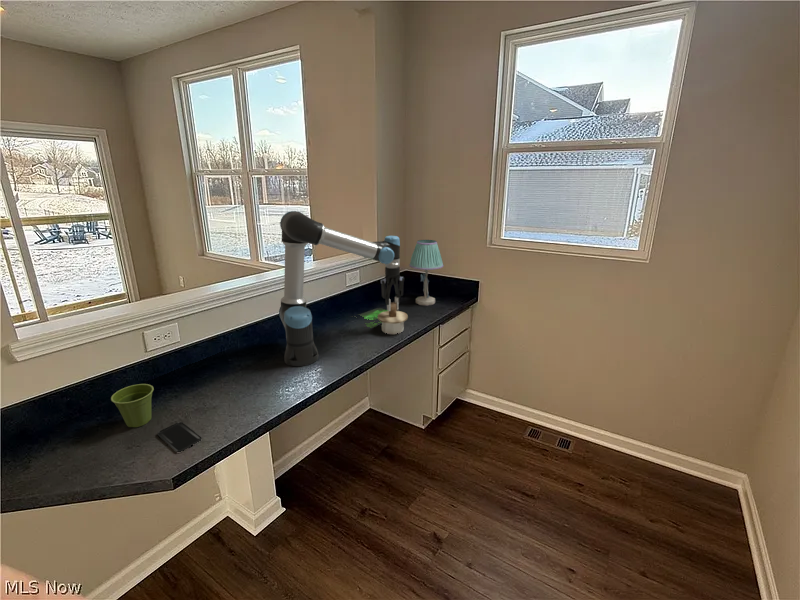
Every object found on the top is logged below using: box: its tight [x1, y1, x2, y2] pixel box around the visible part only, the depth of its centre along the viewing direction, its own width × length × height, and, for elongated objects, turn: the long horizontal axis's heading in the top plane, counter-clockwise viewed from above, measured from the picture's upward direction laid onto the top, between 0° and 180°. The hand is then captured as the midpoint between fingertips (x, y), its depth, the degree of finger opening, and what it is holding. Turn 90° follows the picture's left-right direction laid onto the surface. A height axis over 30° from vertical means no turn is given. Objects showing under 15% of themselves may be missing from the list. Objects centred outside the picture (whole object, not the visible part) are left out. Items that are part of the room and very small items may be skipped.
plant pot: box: [110, 383, 155, 428], centre depth 130 cm, size 12×12×11 cm
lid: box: [378, 301, 409, 324], centre depth 204 cm, size 16×16×8 cm
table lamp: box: [408, 239, 444, 306], centre depth 245 cm, size 22×22×40 cm
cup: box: [381, 321, 405, 335], centre depth 207 cm, size 11×11×7 cm
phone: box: [156, 421, 203, 453], centre depth 124 cm, size 8×1×15 cm
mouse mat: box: [350, 307, 388, 329], centre depth 225 cm, size 27×22×1 cm
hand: (392, 309), depth 204 cm, fingers closed on lid, 4 cm apart
